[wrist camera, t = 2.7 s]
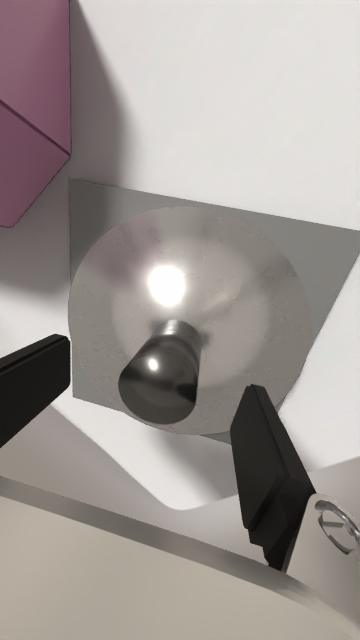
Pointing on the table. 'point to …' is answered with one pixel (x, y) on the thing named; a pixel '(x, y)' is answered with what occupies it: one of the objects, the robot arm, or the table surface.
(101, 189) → the mat
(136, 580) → the robot arm
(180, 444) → the table surface
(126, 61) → the table surface
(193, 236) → the lid
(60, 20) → the pink octagonal dish
